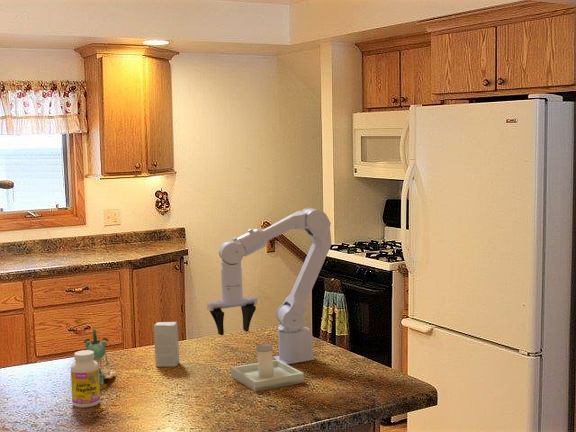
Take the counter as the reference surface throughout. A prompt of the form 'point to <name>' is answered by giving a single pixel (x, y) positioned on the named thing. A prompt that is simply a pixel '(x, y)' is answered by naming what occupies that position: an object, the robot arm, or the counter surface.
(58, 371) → the counter surface
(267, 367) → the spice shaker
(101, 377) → the frog figurine
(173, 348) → the skincare box
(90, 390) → the supplement bottle
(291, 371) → the tray
